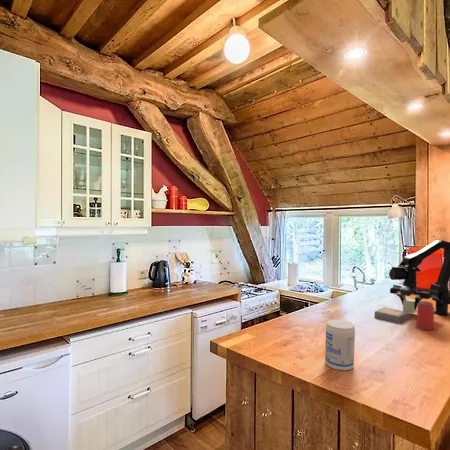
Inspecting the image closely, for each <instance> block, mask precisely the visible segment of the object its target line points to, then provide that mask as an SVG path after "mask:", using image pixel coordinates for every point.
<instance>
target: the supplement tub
mask: <svg viewBox="0 0 450 450" xmlns="http://www.w3.org/2000/svg"><path fill="white" fill-rule="evenodd" d="M325 326H326V327H325V346H324V347H325V351H324V354H325V355H324V359H325V360H324V361H325V362H324V363H325V365H327V366H328V367H329V368H331V369H334V370H339V371H348V370H352V369H353V368H354V366H355V365H354V364H355V337H356V329H355V324H354V323H352V322H350V321H348V320H343V319H342V320H341V319H331V320H328V321H327V322H326V325H325Z"/></svg>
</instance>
